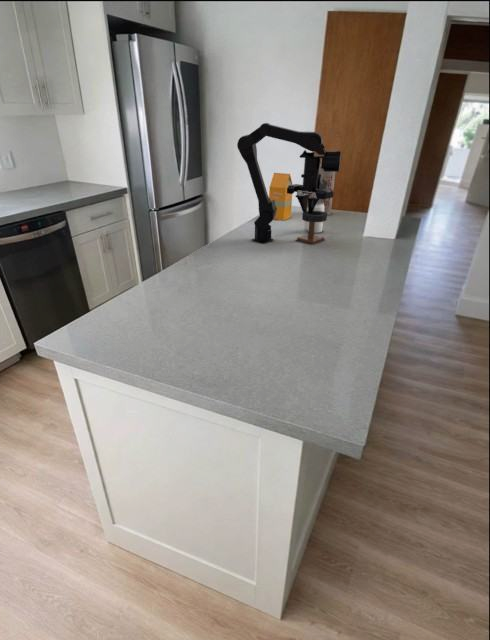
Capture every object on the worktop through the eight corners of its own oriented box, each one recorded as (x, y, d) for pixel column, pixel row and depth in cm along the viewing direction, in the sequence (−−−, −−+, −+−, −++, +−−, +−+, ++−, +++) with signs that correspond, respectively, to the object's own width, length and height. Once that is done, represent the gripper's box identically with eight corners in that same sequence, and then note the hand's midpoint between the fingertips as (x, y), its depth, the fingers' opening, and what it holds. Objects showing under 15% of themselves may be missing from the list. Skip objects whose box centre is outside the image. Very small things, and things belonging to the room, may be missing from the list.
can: (311, 228, 193) (314, 200, 186) (324, 230, 189) (327, 202, 183) (304, 231, 188) (307, 203, 181) (318, 234, 185) (321, 204, 178)
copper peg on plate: (296, 240, 177) (298, 221, 173) (308, 236, 182) (310, 218, 177) (312, 244, 172) (314, 224, 168) (323, 240, 177) (326, 221, 173)
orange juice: (283, 220, 206) (286, 175, 195) (268, 218, 210) (269, 173, 199) (290, 217, 212) (293, 172, 200) (275, 215, 216) (277, 171, 204)
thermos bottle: (330, 215, 213) (338, 152, 197) (314, 215, 214) (320, 152, 198) (330, 212, 220) (337, 150, 204) (314, 211, 221) (320, 150, 205)
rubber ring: (297, 219, 166) (297, 213, 165) (312, 215, 172) (313, 209, 170) (316, 223, 161) (316, 217, 159) (331, 219, 166) (332, 213, 165)
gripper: (344, 171, 158) (338, 215, 167) (305, 166, 169) (302, 208, 178) (326, 174, 151) (321, 220, 160) (287, 169, 163) (284, 212, 172)
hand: (307, 215), depth 168 cm, fingers closed on rubber ring, 2 cm apart
